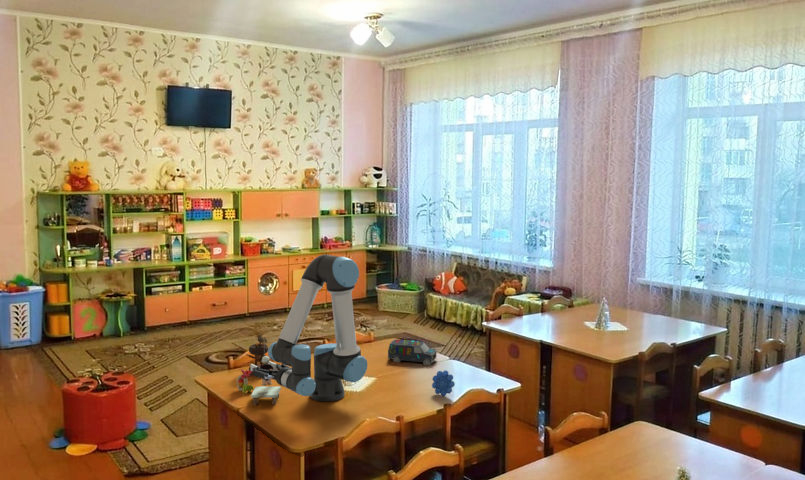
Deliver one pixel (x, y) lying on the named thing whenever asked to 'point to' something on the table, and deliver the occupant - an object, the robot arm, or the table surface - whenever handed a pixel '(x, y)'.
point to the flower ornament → (244, 382)
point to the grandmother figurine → (266, 367)
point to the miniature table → (266, 393)
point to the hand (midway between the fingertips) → (259, 365)
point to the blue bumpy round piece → (443, 383)
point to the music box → (258, 352)
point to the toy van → (411, 351)
